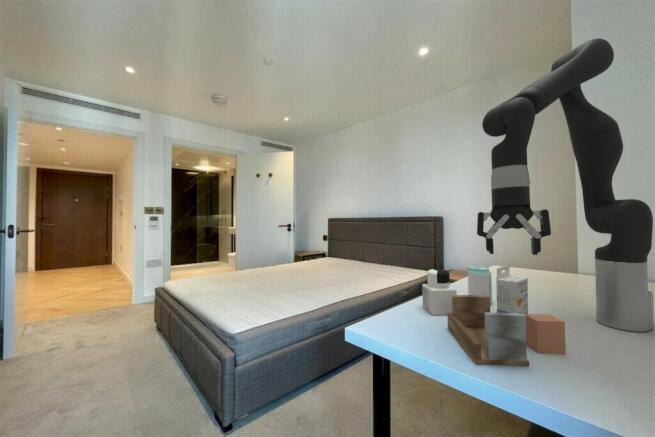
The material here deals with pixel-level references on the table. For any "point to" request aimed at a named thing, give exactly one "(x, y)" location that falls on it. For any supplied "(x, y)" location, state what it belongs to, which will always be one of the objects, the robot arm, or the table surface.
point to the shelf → (488, 331)
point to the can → (480, 281)
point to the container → (438, 292)
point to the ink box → (511, 292)
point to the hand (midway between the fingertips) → (512, 254)
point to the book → (545, 334)
